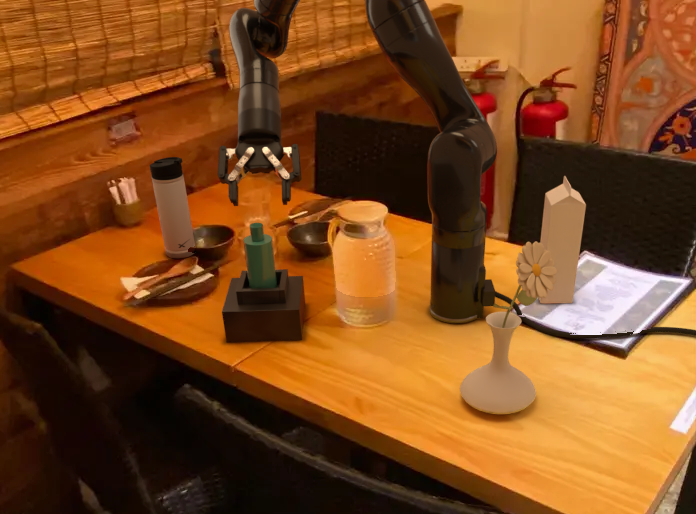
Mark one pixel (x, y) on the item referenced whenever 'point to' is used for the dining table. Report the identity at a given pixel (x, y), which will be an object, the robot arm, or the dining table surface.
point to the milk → (563, 239)
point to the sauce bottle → (260, 258)
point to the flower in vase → (499, 375)
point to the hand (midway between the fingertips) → (260, 203)
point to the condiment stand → (264, 310)
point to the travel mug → (172, 206)
